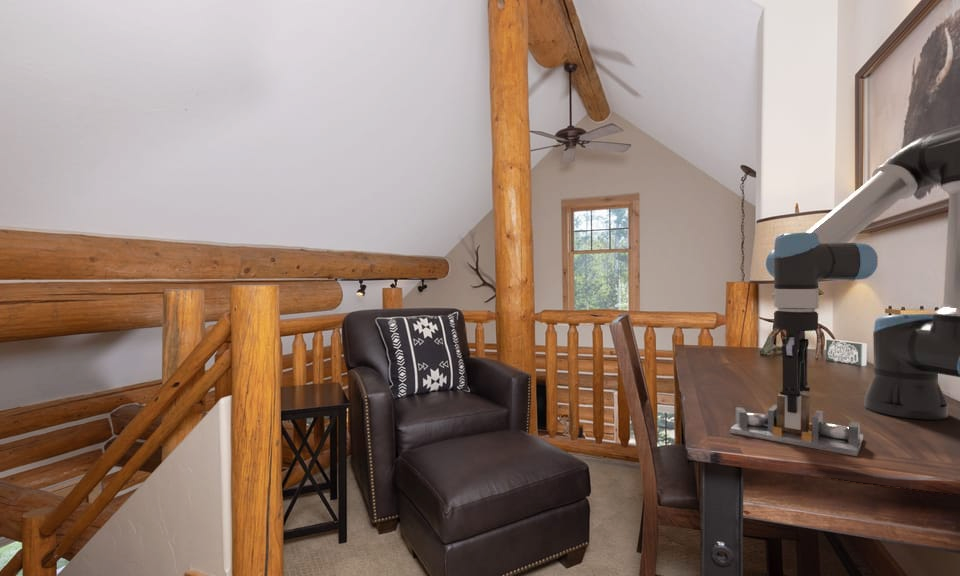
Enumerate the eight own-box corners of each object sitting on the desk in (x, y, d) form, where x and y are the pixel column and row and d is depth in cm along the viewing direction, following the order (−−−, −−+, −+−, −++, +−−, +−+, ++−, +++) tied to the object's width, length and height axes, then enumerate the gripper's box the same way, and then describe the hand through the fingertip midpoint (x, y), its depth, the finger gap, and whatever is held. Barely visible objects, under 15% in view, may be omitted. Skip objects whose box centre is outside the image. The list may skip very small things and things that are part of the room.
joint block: (808, 430, 101) (809, 393, 101) (805, 435, 98) (806, 396, 98) (780, 425, 104) (781, 389, 104) (776, 429, 101) (777, 392, 101)
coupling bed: (863, 439, 98) (863, 413, 98) (857, 456, 89) (857, 427, 89) (745, 420, 112) (745, 397, 112) (730, 432, 103) (730, 408, 103)
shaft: (766, 424, 106) (766, 409, 106) (771, 429, 102) (771, 414, 102) (735, 422, 108) (735, 407, 108) (739, 427, 104) (739, 412, 104)
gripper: (783, 307, 109) (782, 413, 110) (764, 311, 96) (764, 431, 97) (824, 308, 104) (823, 419, 105) (810, 313, 91) (810, 439, 92)
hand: (795, 425), depth 101 cm, fingers closed on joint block, 4 cm apart
